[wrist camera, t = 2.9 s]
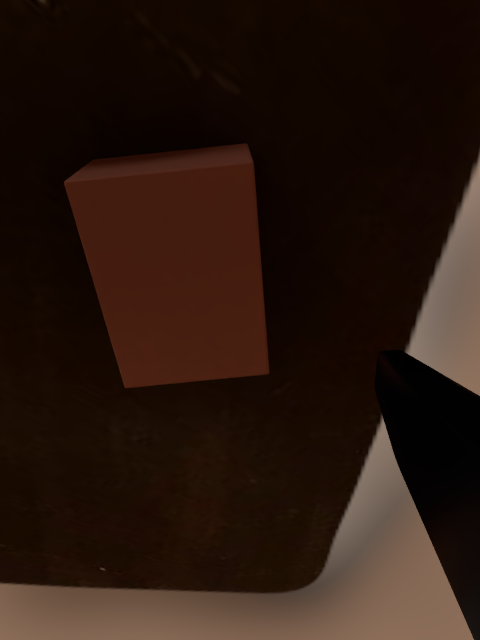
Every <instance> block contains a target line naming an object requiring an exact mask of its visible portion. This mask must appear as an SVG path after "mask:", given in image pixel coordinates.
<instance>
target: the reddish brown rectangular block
mask: <svg viewBox="0 0 480 640" xmlns="http://www.w3.org/2000/svg"><path fill="white" fill-rule="evenodd" d="M64 184H65V188H66V191H67V195H68V198H69V201H70V205H71V208H72V211H73V215H74V218H75V222H76V225H77V228H78V232H79V235H80V238H81V242H82V245H83V248H84V252H85V255H86V259H87V262H88V265H89V269H90V272H91V275H92V279H93V282H94V285H95V289H96V292H97V296H98V299H99V302H100V306H101V309H102V312H103V316H104V319H105V323H106V326H107V329H108V333H109V336H110V339H111V343H112V346H113V349H114V353H115V356H116V360H117V363H118V366H119V370H120V373H121V376H122V380H123V383H124V386H125V388H132V387H142V386H152V385H162V384H173V383H183V382H193V381H203V380H213V379H224V378H234V377H244V376H254V375H264V374H269V361H268V348H267V334H266V321H265V307H264V294H263V281H262V267H261V254H260V240H259V227H258V213H257V200H256V186H255V173H254V162H253V159H252V156H251V153H250V150H249V147H248V144H246V143H244V144H235V145H225V146H216V147H206V148H197V149H188V150H178V151H169V152H160V153H150V154H141V155H131V156H122V157H113V158H103V159H94V160H92V161H91V162H89V163H88V164H87V165H85V166H84V167H83V168H81V169H80V170H79V171H78V172H76V173H75V174H74V175H72V176H71V177H70V178H68V179H67V180H66V181H64Z"/></svg>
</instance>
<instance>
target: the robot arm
mask: <svg viewBox="0 0 480 640" xmlns="http://www.w3.org/2000/svg"><path fill="white" fill-rule="evenodd" d="M375 391H376V395H377V399H378V402H379V405H380V409H381V412H382V415H383V419H384V422H385V425H386V429H387V432H388V435H389V438H390V441H391V445H392V449H393V452H394V455H395V458H396V461H397V463H398V466H399V468H400V471H401V473H402V475H403V478H404V480H405V482H406V485H407V487H408V489H409V491H410V494H411V496H412V498H413V501H414V503H415V505H416V508H417V510H418V512H419V514H420V517H421V519H422V521H423V524H424V526H425V528H426V531H427V533H428V535H429V537H430V540H431V542H432V544H433V546H434V549H435V551H436V553H437V556H438V558H439V560H440V563H441V565H442V567H443V569H444V572H445V574H446V576H447V578H448V581H449V583H450V585H451V588H452V590H453V592H454V595H455V597H456V599H457V601H458V604H459V606H460V608H461V611H462V613H463V615H464V618H465V620H466V622H467V624H468V627H469V629H470V631H471V633H472V636H473V638H474V640H480V396H479V395H477V394H475V393H473V392H472V391H470V390H468V389H467V388H465V387H463V386H461V385H460V384H458V383H456V382H454V381H453V380H451V379H449V378H448V377H446V376H444V375H443V374H441V373H439V372H438V371H436V370H434V369H432V368H431V367H429V366H427V365H426V364H424V363H422V362H420V361H419V360H417V359H415V358H414V357H412V356H410V355H408V354H407V353H405V352H403V351H401V350H389V351H381V352H380V353H379V354H378V357H377V367H376V378H375Z"/></svg>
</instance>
